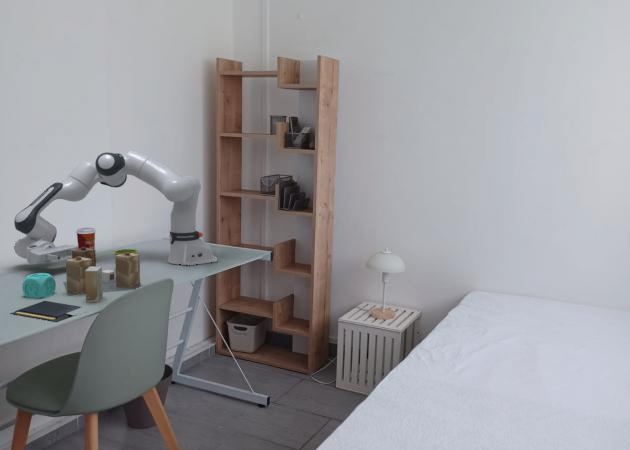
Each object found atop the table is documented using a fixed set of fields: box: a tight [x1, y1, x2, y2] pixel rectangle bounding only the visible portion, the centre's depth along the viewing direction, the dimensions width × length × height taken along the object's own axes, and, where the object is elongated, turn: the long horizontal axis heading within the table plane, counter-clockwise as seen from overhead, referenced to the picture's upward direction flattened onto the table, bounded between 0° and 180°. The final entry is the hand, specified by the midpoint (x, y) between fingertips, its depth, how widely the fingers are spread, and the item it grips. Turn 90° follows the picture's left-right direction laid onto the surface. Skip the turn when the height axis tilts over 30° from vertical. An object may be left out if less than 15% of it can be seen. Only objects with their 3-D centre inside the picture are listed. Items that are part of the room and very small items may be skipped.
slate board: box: [62, 281, 143, 297], centre depth 231 cm, size 27×20×1 cm
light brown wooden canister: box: [65, 256, 92, 296], centre depth 221 cm, size 6×6×13 cm
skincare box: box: [85, 266, 104, 303], centre depth 212 cm, size 6×4×12 cm
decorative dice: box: [21, 272, 57, 299], centre depth 216 cm, size 8×8×8 cm
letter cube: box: [102, 269, 116, 283], centre depth 236 cm, size 4×4×4 cm
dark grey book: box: [9, 300, 82, 323], centre depth 201 cm, size 20×2×15 cm
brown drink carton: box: [71, 247, 97, 267], centre depth 241 cm, size 6×6×13 cm
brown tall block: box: [114, 252, 141, 289], centre depth 230 cm, size 6×6×13 cm
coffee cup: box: [75, 227, 97, 250], centre depth 269 cm, size 8×8×15 cm
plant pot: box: [113, 248, 138, 256], centre depth 256 cm, size 9×9×9 cm
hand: (68, 255), depth 245 cm, fingers open, 8 cm apart
